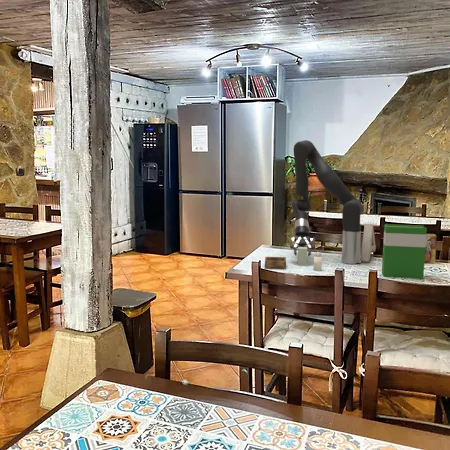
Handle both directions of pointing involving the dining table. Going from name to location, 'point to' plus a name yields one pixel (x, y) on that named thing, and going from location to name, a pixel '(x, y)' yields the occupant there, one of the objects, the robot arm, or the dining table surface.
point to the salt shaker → (318, 261)
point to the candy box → (430, 248)
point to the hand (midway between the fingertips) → (302, 254)
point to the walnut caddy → (275, 262)
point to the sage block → (302, 256)
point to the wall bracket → (368, 243)
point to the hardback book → (404, 251)
